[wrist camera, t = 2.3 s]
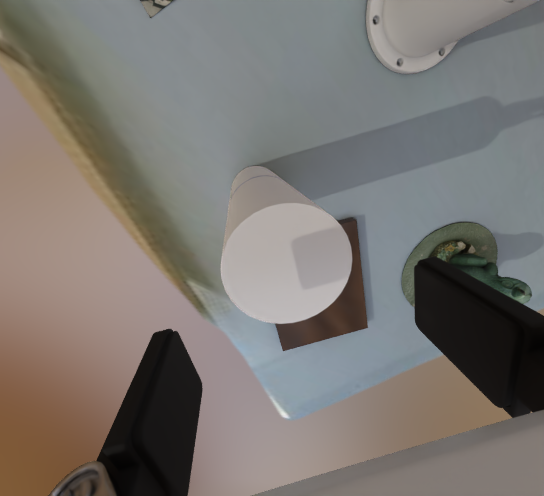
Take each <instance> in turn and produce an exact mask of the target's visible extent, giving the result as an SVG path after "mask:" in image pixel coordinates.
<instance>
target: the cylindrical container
mask: <svg viewBox="0 0 544 496" xmlns="http://www.w3.org/2000/svg"><path fill="white" fill-rule="evenodd" d="M351 266H352V250H351V245H350V242H349V239H348V236H347V234H346V233H345V231H344V229H343V228H342V226H341V225H340V224H339V223H338V222H337V221H336V220H335V219H334V218H333V217H332V216H331V215H330V214H328V213H327V212H326V211H324V210H323V209H322V208H320V207H319V206H318V205H316V204H315V203H313V202H312V201H311V200H309V199H308V198H307V197H305V196H304V195H303V194H301V193H300V192H299V191H297V190H296V189H295V188H293V187H292V186H291V185H289V184H288V183H287V182H285V181H284V180H283V179H281V178H280V177H279V176H277V175H276V174H275V173H273V172H272V171H271V170H269V169H267V168H265V167H261V166H251V167H247V168H245V169H243V170H242V171H241V172H239V173H238V174H237V176H236V177H235V179H234V181H233V183H232V188H231V195H230V202H229V209H228V216H227V223H226V230H225V238H224V245H223V252H222V260H221V278H222V282H223V285H224V288H225V291H226V293H227V294H228V296H229V297H230V299H231V301H232V302H233V303H234V304H235V305H236V306H237V307H238V308H239V309H240V310H241V311H243V312H244V313H246V314H247V315H249V316H251V317H253V318H255V319H257V320H260V321H264V322H268V323H277V324H285V323H294V322H298V321H302V320H306V319H308V318H310V317H313V316H315V315H317V314H318V313H320V312H321V311H323V310H325V309H326V308H327V307H328V306H329V305H331V304H332V303H333V302H334V301H335V300H336V299H337V297H338V296H339V295H340V294H341V292H342V291H343V289H344V287H345V285H346V283H347V281H348V278H349V275H350V272H351Z"/></svg>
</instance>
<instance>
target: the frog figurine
mask: <svg viewBox="0 0 544 496" xmlns="http://www.w3.org/2000/svg"><path fill="white" fill-rule="evenodd" d="M497 252H498V251H497V245H496V241H495V239H494V237H493V235H492V234H491V233H490V231H488V230H487V229H486V228H484V227H483V226H481V225H479V224H475V223H456V224H451V225H448V226H446V227H444V228H441V229H439V230H437V231H435V232H433V233H432V234H430V235H429V236H427V237H426V238H425V239H424V240H423V241H422V242H421V243H420V244H419V245H418V246H417V247H416V249H415V250H414V251H413V252H412V254H411V255H410V257H409V258H408V261H407V263H406V265H405V268H404V271H403V275H402V289H403V292H404V295H405V297H406V299H407V300H408V301H409V303H410V304H411V305H412V306H414V307H415V297H414V267H415V265H417V263H418V261H419V260H422V259H426V258H429V257H433V256H435V257H438V258H440V259H442V260H443V261H445V262H447V263H449V264H451V265H453V266H454V267H456V268H458V269H460V270H462V271H463V272H465V273H467V274H469V275H471V276H472V277H474V278H476V279H478V280H480V281H482V282H483V283H485V284H487V285H489V286H491V287H492V288H494V289H496V290H498V291H500V292H501V293H503V294H505V295H507V296H509V297H511V298H512V299H514V300H516V301H518V302H520V303H521V304H524V303H526V302H528V301H529V300H530V298H531V296H532V292H531V289H530V287H529V286H528V285H527V284H526V283H524V282H522V281H520V280H518V279H514V278H510V277H501V276H499V275H498V268H497V266H496V260H497V254H498V253H497Z"/></svg>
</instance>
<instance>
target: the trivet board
mask: <svg viewBox="0 0 544 496" xmlns="http://www.w3.org/2000/svg"><path fill="white" fill-rule="evenodd" d="M337 222H338V223H339V224H340V225H341V226H342V228H343V229H344V231H345V233H346V234H347V236H348V239H349V242H350V245H351V250H352V266H351V272H350V275H349V278H348V281H347V283H346V285H345V287H344V289H343V291H342V292H341V294H340V295H339V296H338V297H337V299H336V300H335V301H334V302H333V303H332V304H331V305H329V306H328V307H327V308H326V309H325V310H323V311H321V312H320V313H318V314H317V315H315V316H313V317H310V318H308V319H306V320H302V321H298V322H294V323H285V324H277V323H275V325H276V328H277V332H278V335H279V339H280V342H281V346H282V349H283V351H286V350H289V349H293V348H296V347H300V346H304V345H307V344H311V343H314V342H318V341H322V340H325V339H329V338H333V337H336V336H340V335H343V334H347V333H351V332H354V331H358V330H362V329H365V328H368V325H367V316H366V306H365V297H364V288H363V278H362V269H361V260H360V250H359V241H358V231H357V222H356V219H354V218H348V219H345V220H341V221H337Z"/></svg>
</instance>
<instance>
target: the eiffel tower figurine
mask: <svg viewBox="0 0 544 496" xmlns="http://www.w3.org/2000/svg"><path fill="white" fill-rule="evenodd" d="M140 1H141V3H142V4H143V6H144V8H145V9H146V11H147V13H148V15H149V16H150V18H151V17H152V16H154V15H155V14H156V13H158V12H159V11H160V10H161V9H163V8H164V7H165V6H166V5H168V4H169V3H170V2H171V1H173V0H140Z"/></svg>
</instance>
